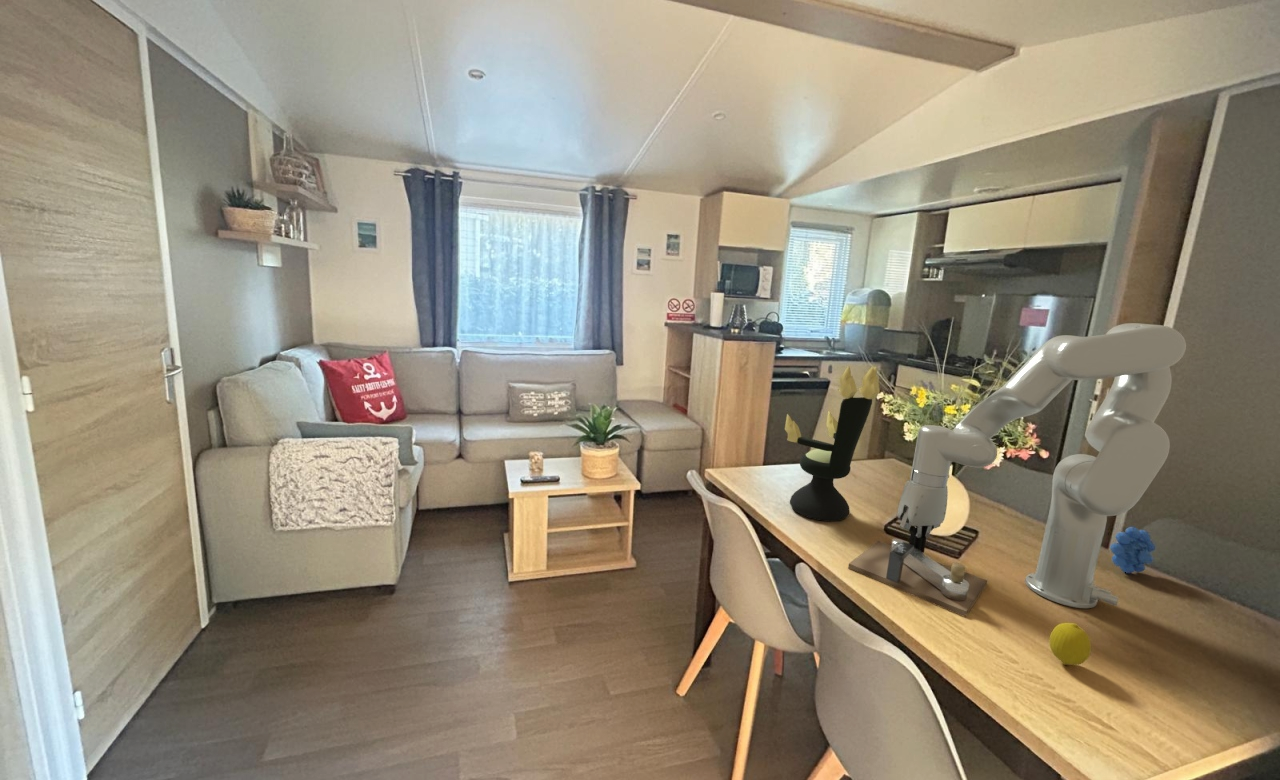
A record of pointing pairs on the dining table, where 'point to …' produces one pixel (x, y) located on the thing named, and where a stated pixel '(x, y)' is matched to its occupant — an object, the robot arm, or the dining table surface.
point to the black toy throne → (833, 451)
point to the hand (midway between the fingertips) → (915, 550)
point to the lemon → (1070, 644)
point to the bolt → (934, 573)
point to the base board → (918, 579)
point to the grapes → (1132, 550)
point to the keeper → (898, 561)
